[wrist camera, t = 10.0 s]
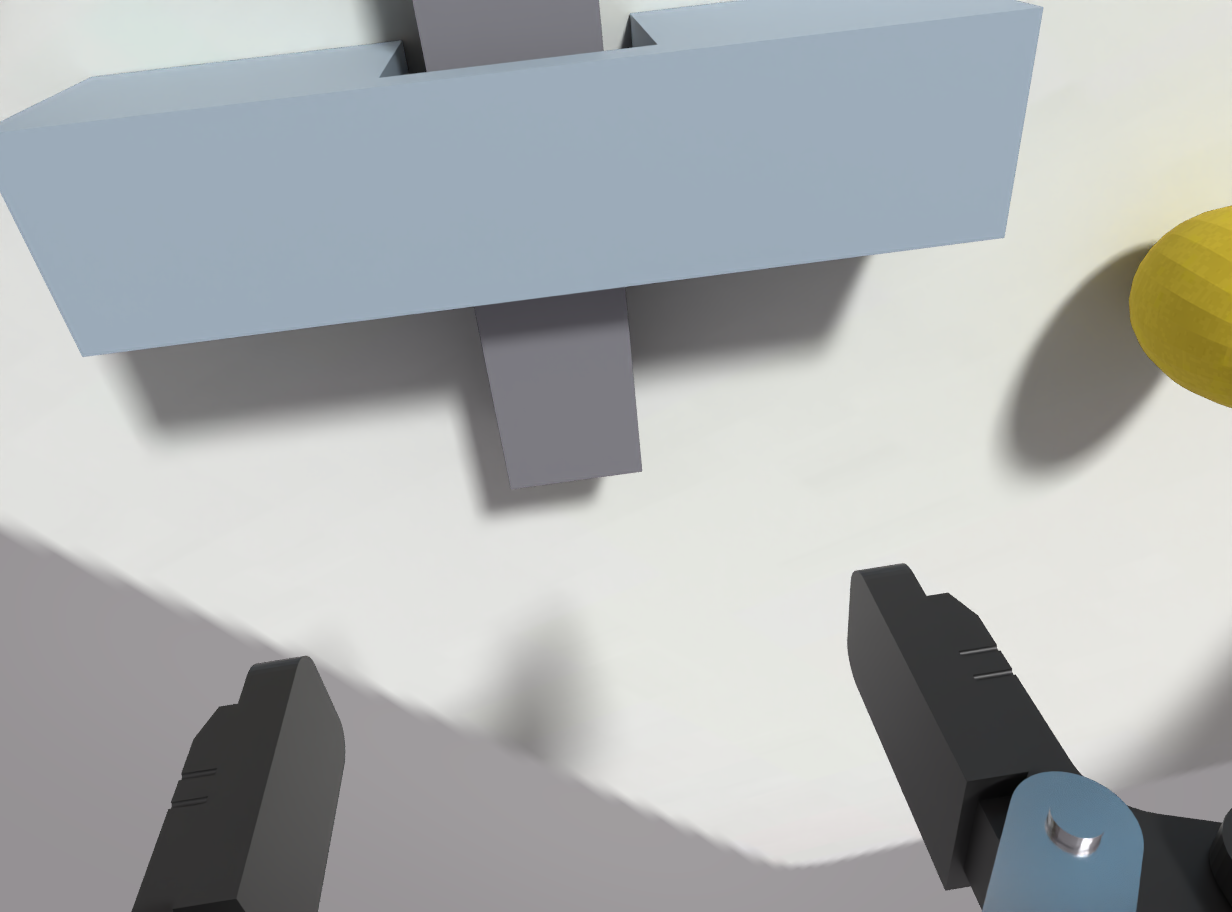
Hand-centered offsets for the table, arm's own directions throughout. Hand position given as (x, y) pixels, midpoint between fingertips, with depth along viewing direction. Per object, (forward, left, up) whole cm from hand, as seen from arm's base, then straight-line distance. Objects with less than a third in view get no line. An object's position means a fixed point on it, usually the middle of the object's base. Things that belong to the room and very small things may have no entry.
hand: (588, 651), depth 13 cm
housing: (0, -4, -16) cm, 17 cm away
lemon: (-20, +3, -16) cm, 26 cm away
